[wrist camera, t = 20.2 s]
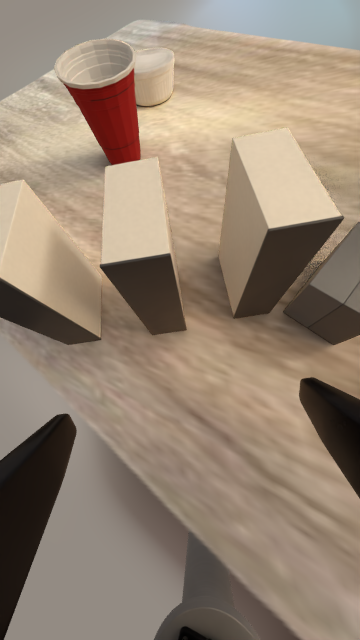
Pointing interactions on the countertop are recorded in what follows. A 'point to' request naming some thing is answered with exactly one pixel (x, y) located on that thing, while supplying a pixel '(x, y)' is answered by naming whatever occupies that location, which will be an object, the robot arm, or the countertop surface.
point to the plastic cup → (105, 94)
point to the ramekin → (153, 76)
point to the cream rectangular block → (141, 245)
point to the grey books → (332, 294)
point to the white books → (234, 251)
